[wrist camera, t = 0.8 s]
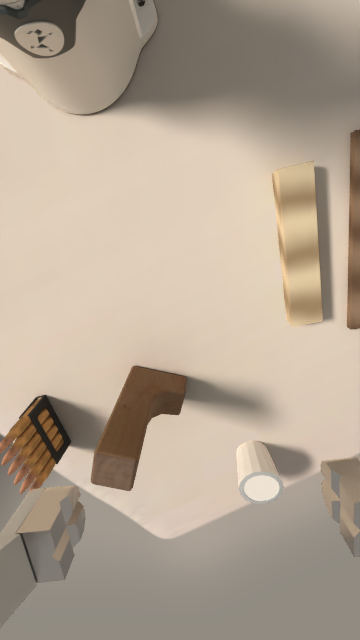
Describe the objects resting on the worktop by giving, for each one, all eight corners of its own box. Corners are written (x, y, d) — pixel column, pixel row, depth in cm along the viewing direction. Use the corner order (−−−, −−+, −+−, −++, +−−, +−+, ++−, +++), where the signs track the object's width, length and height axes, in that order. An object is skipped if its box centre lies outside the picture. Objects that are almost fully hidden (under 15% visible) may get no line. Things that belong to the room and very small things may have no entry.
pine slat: (271, 174, 34) (278, 169, 31) (303, 166, 34) (313, 160, 31) (285, 319, 40) (293, 326, 37) (313, 314, 40) (322, 321, 37)
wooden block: (186, 375, 44) (182, 470, 27) (180, 398, 45) (173, 501, 28) (132, 364, 43) (93, 452, 26) (128, 387, 45) (89, 485, 28)
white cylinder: (241, 433, 47) (249, 467, 40) (277, 444, 47) (291, 479, 41) (227, 461, 49) (232, 498, 42) (262, 471, 49) (272, 509, 43)
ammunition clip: (71, 442, 49) (35, 505, 38) (62, 444, 50) (23, 508, 38) (45, 394, 46) (-3, 448, 35) (36, 396, 46) (-15, 451, 35)
